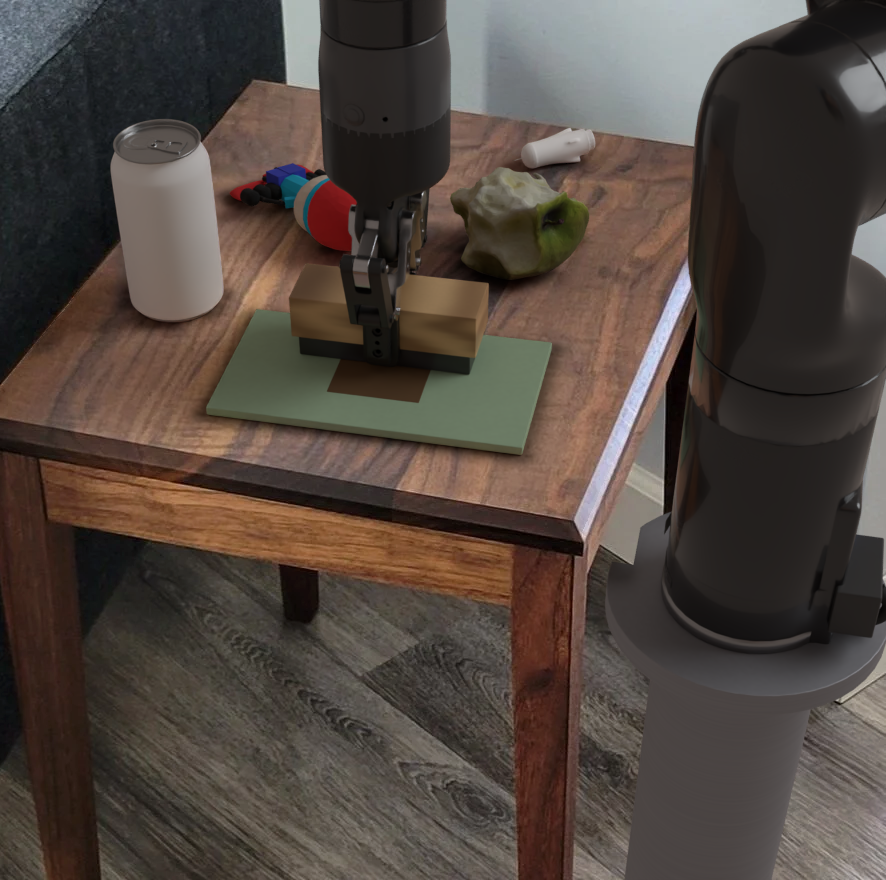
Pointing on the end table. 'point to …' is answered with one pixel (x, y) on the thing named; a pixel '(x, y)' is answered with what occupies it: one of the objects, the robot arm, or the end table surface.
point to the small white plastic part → (558, 148)
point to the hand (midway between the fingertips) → (390, 340)
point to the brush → (421, 320)
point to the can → (167, 220)
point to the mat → (384, 391)
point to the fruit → (518, 224)
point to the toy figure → (305, 202)
